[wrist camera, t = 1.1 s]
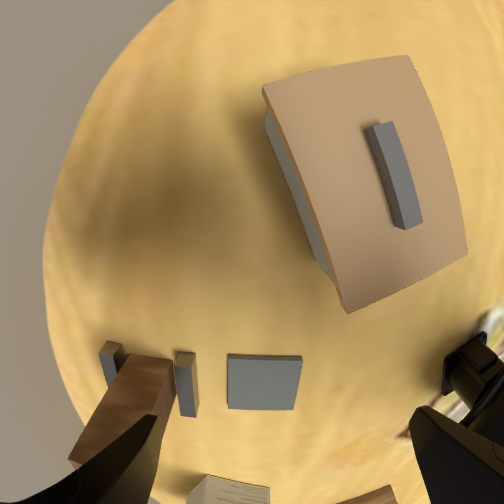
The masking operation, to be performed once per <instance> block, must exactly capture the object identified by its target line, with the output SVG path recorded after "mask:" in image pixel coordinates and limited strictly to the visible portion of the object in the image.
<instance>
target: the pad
mask: <svg viewBox="0 0 504 504" xmlns="http://www.w3.org/2000/svg"><path fill="white" fill-rule="evenodd" d="M302 363H303V359H302V356H248V355H229V357H228V409H242V410H293V408H294V404H295V399H296V394H297V389H298V384H299V379H300V374H301V368H302Z"/></svg>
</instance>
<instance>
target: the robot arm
mask: <svg viewBox="0 0 504 504" xmlns="http://www.w3.org/2000/svg"><path fill="white" fill-rule="evenodd" d="M486 341H487V333H486V332H482V333H481V334H479V335H478V336H477V337H475V338H474V339H472V340H471V341H470V342H468V343H467V344H465V345H464V346H462V347H461V348H459V349H458V350H456V351H455V352H453V353H452V354H450V355H448V356H447V357H446V358H445V360H444V372H443V388H442V394H443V395H444V396H446V395H448V394H449V393H451V392H452V391H455V392H456V393H457V394H458V396H459V397H460V398H461V399H462V400H463V402H464V403H465V404H466V405H467V407H468V408H469V409H470V412H469V413H468V414H467V415H466V416H465V417H464V419H463V420H461V421H460V422H459V423H457V422H455V421H453V420H451V419H450V418H448V417H446V416H445V415H443V414H441V413H439V412H438V411H436V410H434V409H433V408H431V407H429V406H427V405H424V406H420V407H418V408H416V410H415V412H414V414H413V415H412V417H411V419H410V421H409V431H410V435H411V439H412V443H413V447H414V451H415V455H416V459H417V462H418V465H419V468H420V471H421V474H422V477H423V480H424V483H425V486H426V489H427V492H428V495H429V499H430V502H431V504H504V362H503V361H502V360H500V359H499V358H498V355H497V354H496V353H494V352H493V351H492V350H491V349H490V348H489V347H487V346H486ZM162 437H163V429H162V425H161V421H160V418H159V416H158V415H154V414H145V415H144V416H143V417H142V418H140V419H139V420H138V421H137V422H136V423H134V424H133V425H132V426H131V427H130V428H128V429H127V430H126V431H125V432H124V433H122V434H121V435H120V436H119V437H117V438H116V439H115V440H114V441H112V442H111V443H110V444H109V445H107V446H106V447H105V448H104V449H102V450H101V451H100V452H99V453H97V454H96V455H95V456H93V457H92V458H91V459H90V460H88V461H87V462H86V463H84V464H83V465H82V466H80V467H79V468H78V469H76V470H75V471H74V472H72V473H71V474H70V475H68V476H67V477H65V478H64V479H62V480H61V481H59V482H58V483H56V484H54V485H52V486H51V487H49V488H47V489H45V490H43V491H41V492H39V493H37V494H35V495H33V496H31V497H28V498H26V499H24V500H21V501H18V502H12V503H4V502H0V504H147V503H148V499H149V496H150V493H151V489H152V486H153V483H154V479H155V476H156V472H157V467H158V461H159V455H160V449H161V443H162Z"/></svg>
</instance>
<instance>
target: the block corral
mask: <svg viewBox="0 0 504 504" xmlns="http://www.w3.org/2000/svg"><path fill="white" fill-rule="evenodd" d="M338 504H398V503H397V501H396V498H395V495H394V493H393V490H392V488H391V485H388V486H386V487H383V488H381V489H378V490H376V491H373V492H371V493H368V494H365V495H363V496H360V497H357V498H354V499H351V500H348V501H345V502H342V503H338Z"/></svg>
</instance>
